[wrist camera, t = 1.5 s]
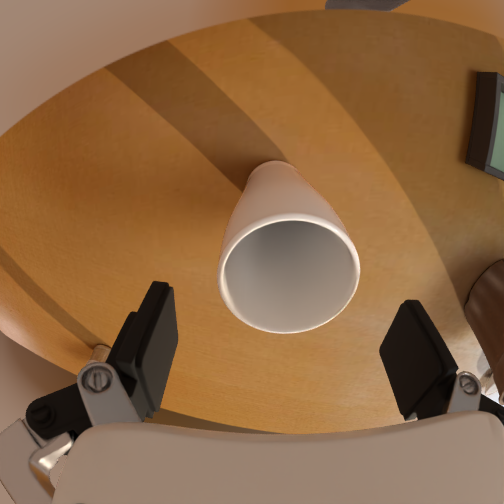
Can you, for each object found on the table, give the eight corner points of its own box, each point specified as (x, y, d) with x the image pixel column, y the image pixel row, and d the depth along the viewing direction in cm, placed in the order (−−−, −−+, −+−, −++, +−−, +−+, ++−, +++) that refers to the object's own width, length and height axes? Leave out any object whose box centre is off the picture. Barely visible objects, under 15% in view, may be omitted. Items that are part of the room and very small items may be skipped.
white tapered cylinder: (239, 220, 27) (219, 335, 14) (237, 151, 24) (209, 211, 11) (309, 221, 27) (347, 334, 14) (313, 152, 24) (375, 215, 11)
